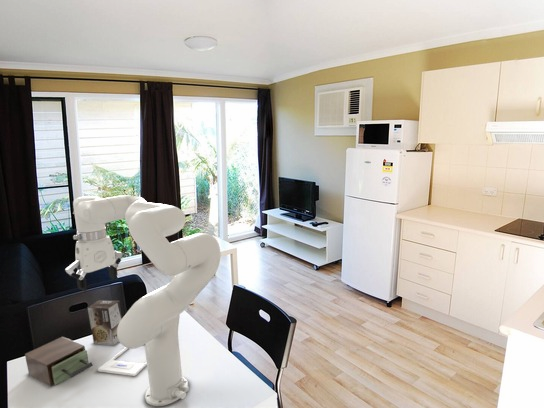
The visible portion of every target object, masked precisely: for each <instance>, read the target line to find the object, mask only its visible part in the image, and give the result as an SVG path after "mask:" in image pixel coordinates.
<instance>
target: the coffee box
mask: <svg viewBox="0 0 544 408" xmlns="http://www.w3.org/2000/svg"><path fill="white" fill-rule="evenodd" d="M87 313H88V318H89V325H90V329H91V336H92V341H93V344H94V345H104V346H105V345H106V346H115V345H117V344H118V343H120V342H119V340H118V337H117V328H118V325H119V323H120V321H121V319H122V318H123V316H122V309H121V303H120V300H105V299H99V300H97V301H96V302H94V303H93V304H91V305H89V306H88V307H87Z"/></svg>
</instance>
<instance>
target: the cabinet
mask: <svg viewBox="0 0 544 408" xmlns="http://www.w3.org/2000/svg"><path fill="white" fill-rule="evenodd" d="M79 350H81V352H82V351H84V350H86V346H85V345H84V344H81V343H79V342H77V341H74V340H72V339H70V338H67V337H65V336H61V337H58V338H56V339H54V340H52V341H50V342H48V343H45V344H43V345H41V346H38V347H37V348H35V349H32V350H30V351H28V352H26V353H24V356H25V362H26V367H27V371H28V375H29V376H31V377H33V378H34V379H36V380H39V381H40V382H41V383H44V384H45V385H47V386H49V387H53V386H54V385H55V384H54V380H53V379H52V374H51V369H50V365H52V364H54V363H56V362H58V361H60V360H62V359H64V358H66V357H68V356H70V355H72V354H74V353H76V352H78V351H79Z"/></svg>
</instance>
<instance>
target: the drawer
mask: <svg viewBox="0 0 544 408" xmlns="http://www.w3.org/2000/svg"><path fill="white" fill-rule="evenodd" d="M93 366H94V364H93V363H92V362H91V361H90V360H89V355H88V350H86V349H85V350H84V351H82V352H81V350H79V351H78V352H76V353H74V354H72V355H70V356H68V357H66V358H64V359H62V360H60V361H58V362H56V363H54V364H52V365H50V369H51V374H52V379H53V380H54V385H55V386H56V385H59V384H61V383H62V382H64V381H66V380H67V379H70V378H73V377H75V376H78V375H79V374H81V373H82V372H84V371H86V370H88V369H90V368H92V367H93Z"/></svg>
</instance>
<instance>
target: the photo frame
mask: <svg viewBox="0 0 544 408" xmlns="http://www.w3.org/2000/svg"><path fill="white" fill-rule="evenodd" d="M127 350H129V348H126V347H123V348H122V349H121V350H119V351H118V352H117V353H115V355H113V356H112V357H111V358H109V359H108V360H107V361H106V362H105V363H103V364H102V365H101V366H99V367H98V368H97V372H100V373H107V374H114V375H115V374H116V375H122V376H123V375H124V376H131V377H132V376H133V377H136V376H137V375H138V374H139V373H140V372H141V371H142V370H143V369H144V368H145V367H147V361H146V360H145V362H144V363H142V362H134V361H126V360H117V358H118V357H119V356H121V355H122V354H123V353H125V352H126V351H127Z"/></svg>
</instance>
